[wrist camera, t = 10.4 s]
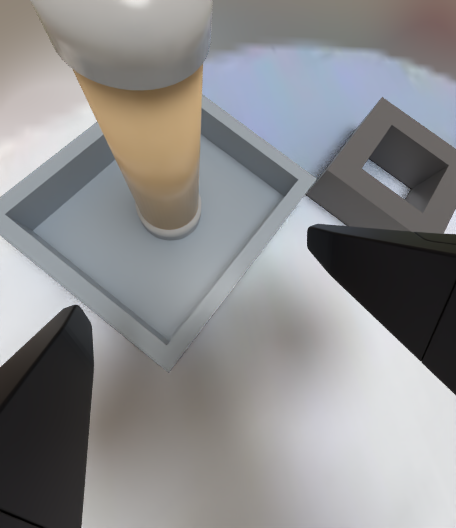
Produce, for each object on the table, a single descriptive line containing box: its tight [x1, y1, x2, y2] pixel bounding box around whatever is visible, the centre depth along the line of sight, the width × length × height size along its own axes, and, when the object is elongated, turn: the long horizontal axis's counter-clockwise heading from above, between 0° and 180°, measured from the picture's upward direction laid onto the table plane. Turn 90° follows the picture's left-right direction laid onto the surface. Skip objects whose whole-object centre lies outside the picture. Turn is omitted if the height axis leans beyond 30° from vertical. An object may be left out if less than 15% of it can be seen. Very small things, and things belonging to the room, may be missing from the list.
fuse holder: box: [306, 97, 456, 234], centre depth 20 cm, size 10×10×4 cm
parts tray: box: [0, 94, 316, 373], centre depth 17 cm, size 16×14×4 cm
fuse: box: [30, 0, 213, 240], centre depth 12 cm, size 4×4×13 cm
